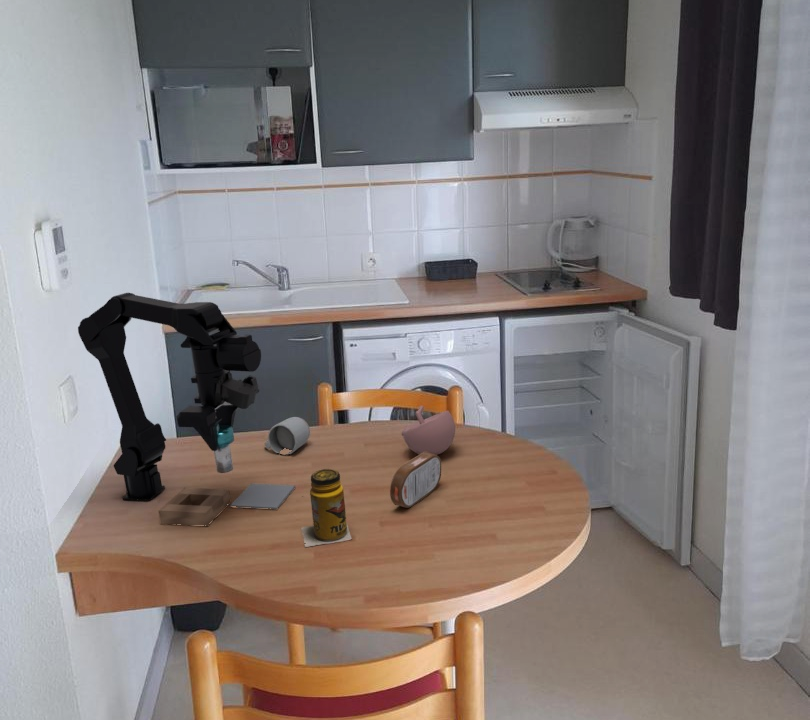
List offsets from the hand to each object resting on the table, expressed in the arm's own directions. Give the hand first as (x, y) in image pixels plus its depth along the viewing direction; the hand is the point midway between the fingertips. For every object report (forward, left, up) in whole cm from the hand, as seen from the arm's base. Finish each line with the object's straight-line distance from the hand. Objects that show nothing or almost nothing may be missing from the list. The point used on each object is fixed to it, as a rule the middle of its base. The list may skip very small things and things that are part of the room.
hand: (221, 445), depth 147 cm
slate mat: (+5, +4, -13) cm, 15 cm away
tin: (+37, +7, -14) cm, 41 cm away
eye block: (-6, -4, -13) cm, 15 cm away
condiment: (+23, -9, -14) cm, 28 cm away
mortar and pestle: (+35, +29, -14) cm, 48 cm away
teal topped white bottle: (0, 0, -5) cm, 5 cm away
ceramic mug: (0, +30, -14) cm, 33 cm away
